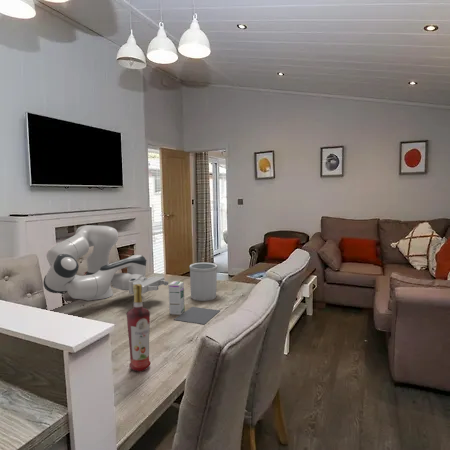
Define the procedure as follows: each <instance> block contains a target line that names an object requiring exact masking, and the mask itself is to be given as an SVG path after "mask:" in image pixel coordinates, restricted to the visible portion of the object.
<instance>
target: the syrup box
mask: <svg viewBox="0 0 450 450" xmlns="http://www.w3.org/2000/svg"><path fill="white" fill-rule="evenodd" d="M184 283H185V282H184V281H178V280H177V281H175V280H174V281H172V282H170V283H168V285H167V286H168V309H169V314H170V315H176V316H177V315H178V316H180V315H181V314H182V313H184V312H185V311H186V310H185V309H186V308H185V285H184Z"/></svg>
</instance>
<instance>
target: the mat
mask: <svg viewBox="0 0 450 450" xmlns="http://www.w3.org/2000/svg"><path fill="white" fill-rule="evenodd" d="M219 312H221V310H219V309H213V308H206V307H205V308H204V307H197V306H191V307H190V308H188V309H187V310H185V311H184V312H183V313H182V314H181V315H178V316H177V317H176V318H174V319H173V320H174V321H178V322H185V323H191V324H198V325H204V326H205V325H206V324H207V323H208V322H209V321H210V320H212V319H213V318H214V317H215V316H216V315H217V314H218V313H219Z"/></svg>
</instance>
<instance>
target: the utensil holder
mask: <svg viewBox="0 0 450 450" xmlns="http://www.w3.org/2000/svg"><path fill="white" fill-rule="evenodd" d="M217 269H218V265H217V264H216V263H213V262H195V263H191V264H190V265H189V277H190V279H189V280H190V297H191V299H192V300H194V301H198V302H199V301H200V302H206V301H212V300H215V299H216V297H217V277H218V275H217V271H218V270H217Z"/></svg>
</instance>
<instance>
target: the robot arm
mask: <svg viewBox="0 0 450 450" xmlns="http://www.w3.org/2000/svg"><path fill="white" fill-rule="evenodd" d="M118 240H119V233H118V230H117V228H114V227H112V226H110V225H109V226H108V225H93V224H91V225H90V224H89V225H87V224H86V225H82V226H78V228H77V229H76V230H75V233H74V235H73V236H71V237H68V238H67V239H64V240H63V241H61V242H59V243H57V244H56V245H54V246H53V247H52V248H51V249H50V250H48V252H47V255H46V258H47V261H48V263H49V264H50V265H51V266H50V268H49V269H48V271H47V273H46V275H45V276H44V278H43V287H44V289H45V290H46V291H47V292H49V293H52V294H60V295H63V294H68V296H69V297H70V298H72V299H78V300H83V301H86V302H89V301H93V300H103V299H107V298H110V297H112V296H113V295H114V292H113V289H112V287H113V288H114V289H116V290H121V291H128V293H129V294H130V295H134V292H133V285H135V284H141V285H142V292H141V295H142V294H145V293H147V292H149V291H151V292H152V291H158V290H159V287H160V286H162V285H163V286H168V285H169V281H166V280H165V277H164V276H156V275H155V276H149V277H146V273H147V272H146V269H147V259H146V258H145V257H144V256H143V255H142V254H133V255H131V256H130V255H129V256H128V257H125V258H123V259H119V260H116V261H113V262H109V261H110V252H111V249H112V248H113V247H114V246H115V244H117V242H118ZM90 247H93V250H92V252H91V253H90V254H88V252H89V250H90ZM87 254H88V256H87V258H86V266H87V268H86V269H87V271H85V272H83V275H78V274H77V273H78V271H79V263H78V261H77V260H78V259H80V258H81V257H84V256H85V255H87ZM124 268H125V269H127V271H126V272H117V271H119V270H122V269H124ZM116 272H117V273H116Z"/></svg>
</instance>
